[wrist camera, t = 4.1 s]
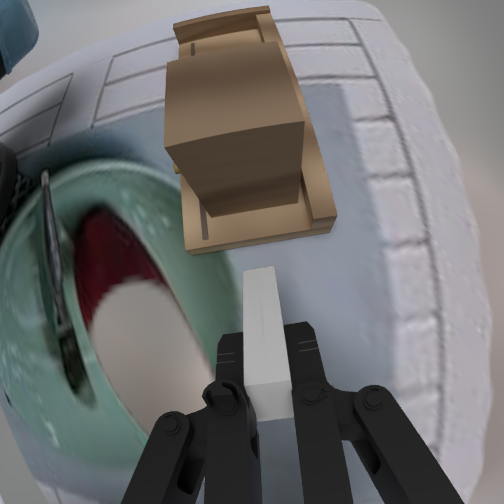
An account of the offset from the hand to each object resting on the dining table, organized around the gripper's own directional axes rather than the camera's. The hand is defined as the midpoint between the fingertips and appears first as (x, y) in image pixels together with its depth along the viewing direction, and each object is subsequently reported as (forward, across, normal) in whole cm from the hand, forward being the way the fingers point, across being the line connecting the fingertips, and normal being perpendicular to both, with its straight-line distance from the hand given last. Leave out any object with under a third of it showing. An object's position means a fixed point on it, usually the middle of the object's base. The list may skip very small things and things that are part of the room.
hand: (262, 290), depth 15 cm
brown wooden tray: (+15, 0, +7) cm, 17 cm away
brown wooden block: (+9, 0, +4) cm, 10 cm away
